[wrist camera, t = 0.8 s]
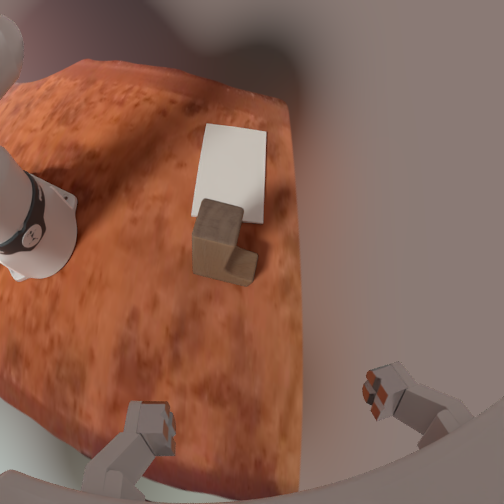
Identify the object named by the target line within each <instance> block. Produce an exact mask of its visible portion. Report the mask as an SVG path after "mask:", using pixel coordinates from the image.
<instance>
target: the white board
mask: <svg viewBox="0 0 504 504" xmlns="http://www.w3.org/2000/svg"><path fill="white" fill-rule="evenodd" d="M265 157H266V132H264V131H258V130H252V129H245V128H239V127H231V126H224V125H216V124H207V123H206V129H205V134H204V139H203V145H202V150H201V156H200V162H199V168H198V174H197V180H196V186H195V193H194V200H193V206H192V214H191V216H192V217H197V215H198V212H199V208H200V205H201V202H202V200H203V199H204V198H207V199H211V200H215V201H219V202H223V203H227V204H231V205H235V206H238V207H242V208H243V209H244V215H243V219H242V222H246V223H254V224H263V214H264V186H265Z"/></svg>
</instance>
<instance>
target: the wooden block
mask: <svg viewBox="0 0 504 504" xmlns="http://www.w3.org/2000/svg"><path fill="white" fill-rule="evenodd" d="M243 215H244V209H243V208H242V207H238V206H235V205H231V204H227V203H223V202H219V201H215V200H211V199H207V198H204V199H203V200H202V202H201V205H200V208H199V212H198V215H197V218H196V222H195V225H194V229H193V232H192V260H193V273H194V274H197V275H201V276H205V277H209V278H213V279H217V280H221V281H225V282H229V283H233V284H237V285H241V286H249V285H250V284H251V283H252V282H253V280H254V275H255V270H256V266H257V261H258V254H257V253H254V252H251V251H248V250H245V249H241V248H240V247H238V246H237V245H236V244H237V240H238V236H239V232H240V227H241V223H242V219H243Z"/></svg>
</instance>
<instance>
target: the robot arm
mask: <svg viewBox="0 0 504 504" xmlns="http://www.w3.org/2000/svg"><path fill="white" fill-rule="evenodd" d="M23 58H24V44H23V39H22V35H21V33H20V30H19V28H18V27H17V26H16V24H15V23H14V22H13V21H12V20H11V19H9V18H8V17H6V16H3V15H1V14H0V100H1V99H2V97H3V96H4V95H5V94H6V92H7V91H8V90H9V89H10V88H11V86H12V85H13V84H14V83H15V82H16V80H17V79H18V78H19V75H20V72H21V69H22V65H23ZM66 198H68V199H67V200H65V199H66ZM76 207H77V198H76V197H75V196H74V195H73V194H71V193H68V192H66V191H64V190H62V189H60V188H58V187H56V186H54V185H52V184H50V183H48V182H46V181H44V180H42V179H40V178H38V177H36V176H34V175H32V174H29V173H28V172H27V171H24V170H22V169H21V167H20V166H19V165H18V164H17V162H16V161H15V160H14V159H13V158H12V156H11V155H10V154H9V152H8V151H7V150H6V149H5V148H4V147H2V146H0V263H1V264H3V265H4V266H6V267H8V269H9V271H10V273H11V275H12V277H13V278H14V279H15V280H16V281H18V282H21V281H24V280H26V279H28V278H46V277H49V276H51V275H53V274H55V273H56V272H58V271H59V270H60V269H61V268H62V267H63V266H64V265H65V264H66V262H67V261H68V259H69V258H70V256H71V254H72V252H73V249H74V246H75V243H76V238H77V224H76V218H75V212H76ZM366 378H367V379H368V380H367V381H366V382H365V383H364V385H363V388H362V390H363V396H364V399H365V401H366V403H367V404H369V405H371V406H372V407H371V412H372V414H373V415H374V417H375V419H376V421H379V420H382V419H385V418H387V417H390V416H393V415H394V416H393V417H395V418H396V419H398V420H400V421H401V422H403V423H404V424H406V425H408V426H409V427H411V428H413V429H414V430H416V431H417V432H419V433H421V434H422V435H423V436H422V438H421V439H420V441H419V442H418V444H417V446H418V447H419V450H417V451H416V452H413V453H411V454H409V455H407V456H405V457H403V458H401V459H398V460H396V461H394V462H391V463H389V464H386V465H384V466H382V467H379V468H376V469H374V470H371V471H369V472H366V473H363V474H360V475H357V476H354V477H351V478H348V479H345V480H342V481H338V482H336V483H332V484H328V485H324V486H321V487H317V488H313V489H309V490H304V491H300V492H295V493H290V494H285V495H279V496H274V497H267V498H261V499H253V500H244V501H234V502H222V503H195V504H504V396H503V397H502V398H501V399H500V400H498V401H497V402H496V403H495V404H493V405H492V406H490V407H489V408H488V409H486V410H485V411H484V412H482V413H481V414H479V415H478V416H476V417H474V416H473V415H472V414H471V412H470V411H469V410H468V408H467V407H466V406H465V405H464V403H463V402H462V401H461V400H459V399H457V398H455V397H452V396H449V395H447V394H445V393H442V392H440V391H437V390H435V389H432V388H430V387H428V386H425V385H423V384H417V382H416V381H415V380H414V378H413V377H412V376H411V375H410V373H409V372H408V371H407V370H406V368H405V367H404V366H403V364H401V362H399V361H398V362H395V363H392V364H389V365H385V366H382V367H378V368H375V369H372V370H369V371H368V372H367V375H366ZM175 434H176V423H175V418H174V415H173V413H172V412H170V405H169V403H168V402H167V401H131V402H130V403H129V406H128V411H127V416H126V421H125V426H124V432H120V433H119V434H118V435H117V436H116V437H115V438H114V439H113V440H112V441H111V442H110V443H109V444H108V445H107V446H106V447H105V448H103V449H102V450H101V451H100V452H99V453H98V454H97V455H96V456H95V457H94V458H93V459H92V460H91V461H90V462H89V463H88V464H87V465H86V467H85V472H84V477H83V482H82V487H81V491H78V490H74V489H70V488H66V487H62V486H59V485H56V484H52V483H49V482H46V481H43V480H40V479H37V478H34V477H31V476H28V475H26V474H23V473H21V472H18V471H15V470H8V471H6V472H4V473H2V474H0V504H187V503H160V502H146V501H145V496H144V495H143V494H142V493H141V492H140V491H139V490H138V489H137V488H136V487H135V486H134V485H135V484H136V483H137V481H138V480H139V479H140V477H141V476H142V475H143V473H144V472H145V470H146V469H147V468H148V466H149V465H150V464H151V462H152V461H153V459H154V458H155V456H175V445H176V443H175V441H174V439H173V437H174V435H175ZM188 504H189V503H188ZM190 504H194V503H190Z"/></svg>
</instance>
